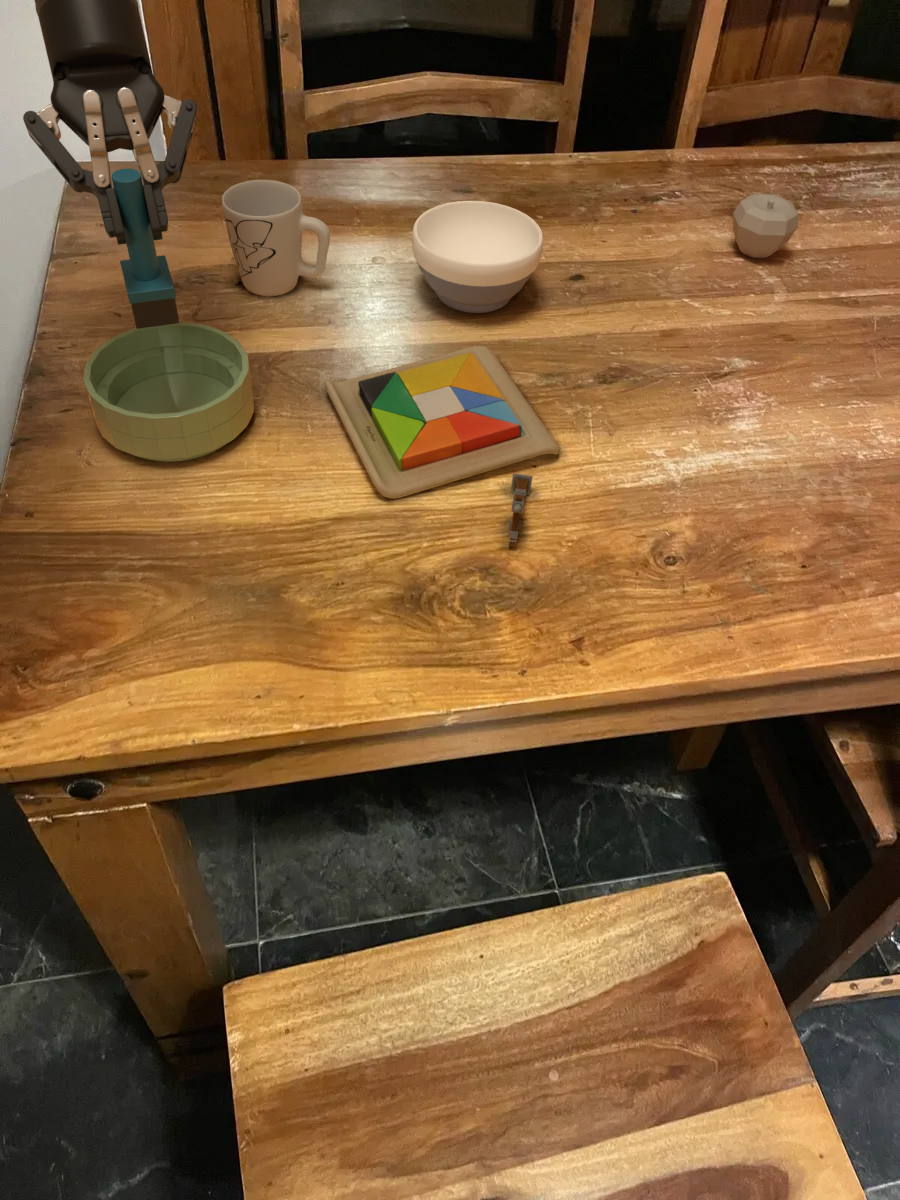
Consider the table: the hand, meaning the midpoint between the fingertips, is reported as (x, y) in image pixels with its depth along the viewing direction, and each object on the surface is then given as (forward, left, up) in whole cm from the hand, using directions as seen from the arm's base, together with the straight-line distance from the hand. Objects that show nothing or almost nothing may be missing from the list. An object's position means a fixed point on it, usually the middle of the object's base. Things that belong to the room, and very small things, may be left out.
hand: (140, 238), depth 74 cm
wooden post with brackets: (+15, -30, -20) cm, 39 cm away
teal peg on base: (+1, +2, -8) cm, 8 cm away
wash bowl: (+1, +2, -20) cm, 20 cm away
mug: (+24, +14, -20) cm, 35 cm away
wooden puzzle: (+19, -16, -20) cm, 32 cm away
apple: (+73, -19, -20) cm, 78 cm away
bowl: (+39, -2, -20) cm, 44 cm away
